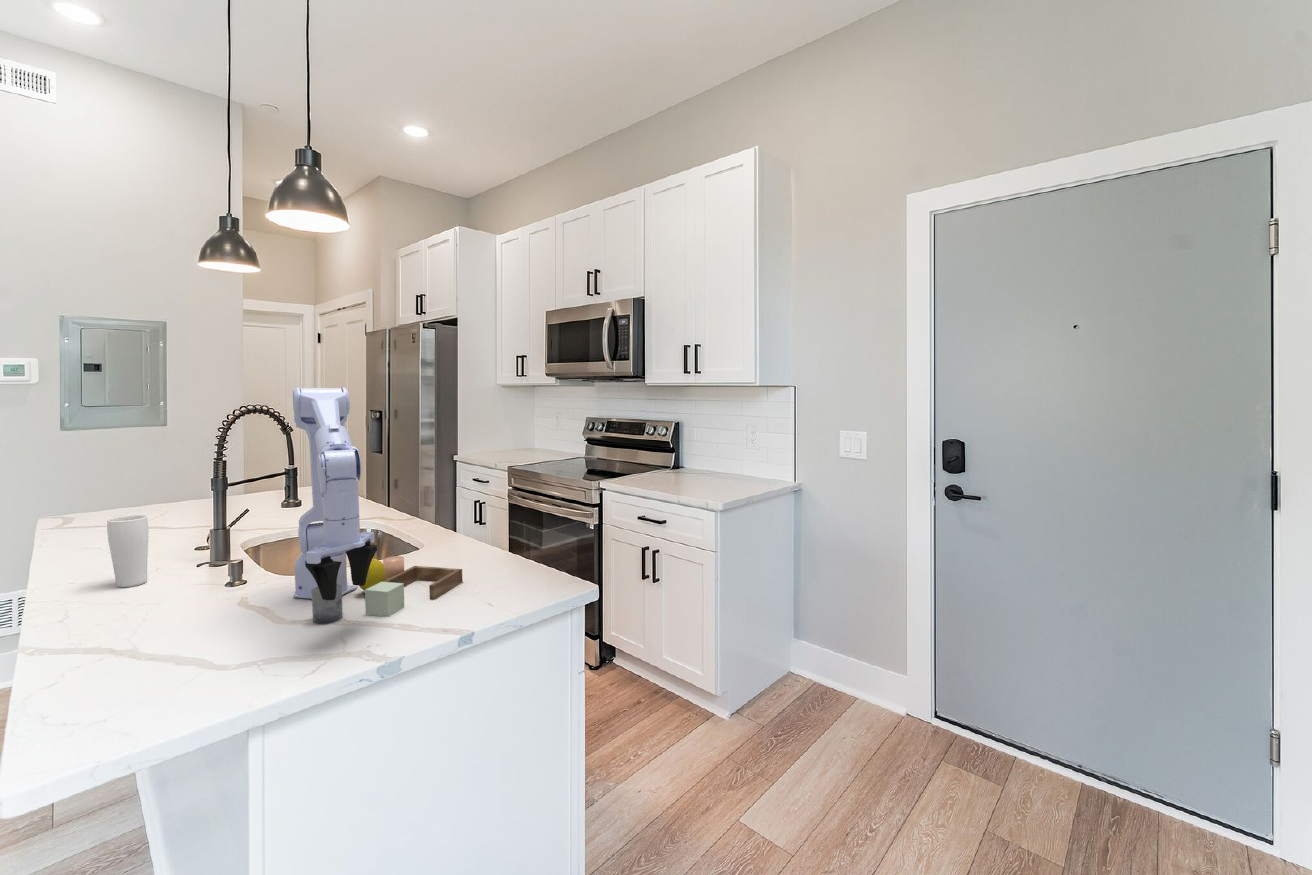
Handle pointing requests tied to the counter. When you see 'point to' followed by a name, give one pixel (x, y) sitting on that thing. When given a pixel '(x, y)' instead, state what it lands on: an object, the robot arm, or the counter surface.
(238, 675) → the counter surface
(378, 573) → the lemon
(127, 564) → the drinking glass
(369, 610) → the block
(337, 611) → the can
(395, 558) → the peach rounded cylinder
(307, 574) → the robot arm
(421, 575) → the corral
